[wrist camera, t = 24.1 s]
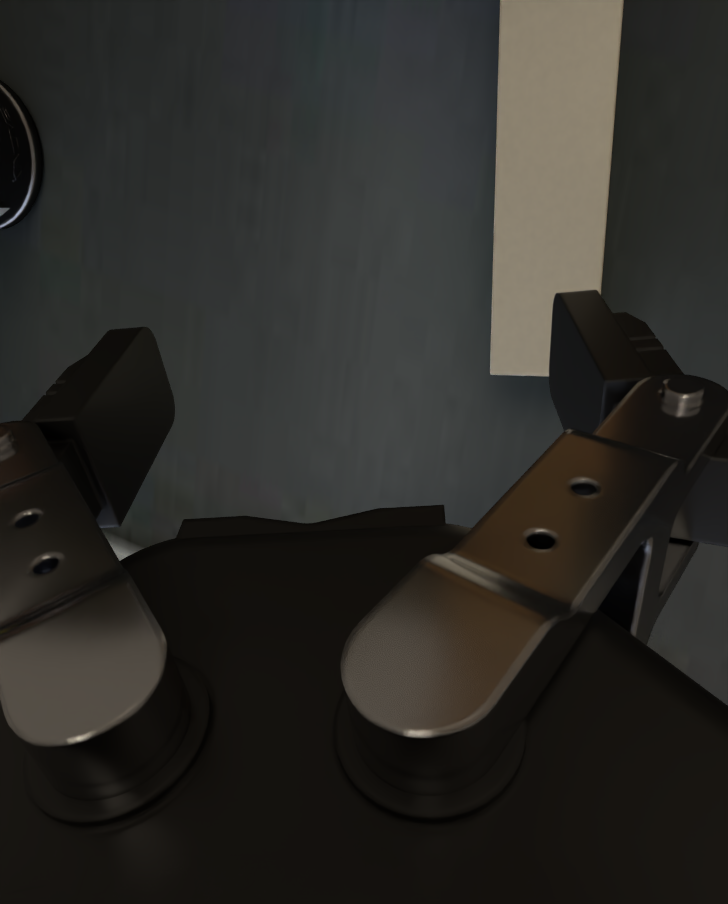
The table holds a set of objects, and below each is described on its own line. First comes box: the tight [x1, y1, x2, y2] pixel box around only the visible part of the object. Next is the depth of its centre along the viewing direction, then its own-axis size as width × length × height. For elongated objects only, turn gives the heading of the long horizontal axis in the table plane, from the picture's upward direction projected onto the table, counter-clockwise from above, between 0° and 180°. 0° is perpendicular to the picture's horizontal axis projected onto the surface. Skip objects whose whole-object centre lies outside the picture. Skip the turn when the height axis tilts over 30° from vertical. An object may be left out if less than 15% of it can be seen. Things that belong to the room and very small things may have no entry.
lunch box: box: [490, 0, 624, 377], centre depth 29 cm, size 20×4×8 cm, turn 2°
